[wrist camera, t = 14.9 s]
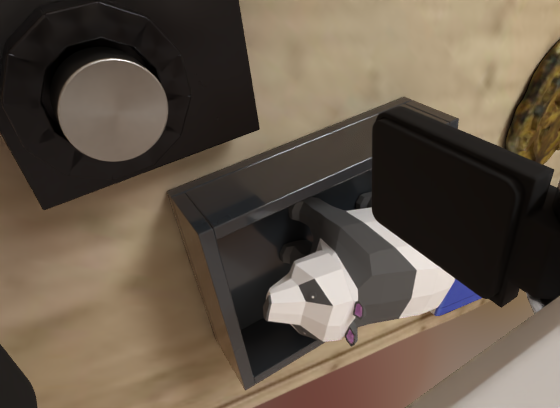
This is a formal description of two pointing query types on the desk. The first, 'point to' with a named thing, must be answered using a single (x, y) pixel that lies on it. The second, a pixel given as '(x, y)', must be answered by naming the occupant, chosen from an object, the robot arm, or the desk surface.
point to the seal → (539, 113)
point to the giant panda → (350, 274)
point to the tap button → (108, 104)
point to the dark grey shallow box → (269, 232)
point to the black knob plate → (146, 50)
